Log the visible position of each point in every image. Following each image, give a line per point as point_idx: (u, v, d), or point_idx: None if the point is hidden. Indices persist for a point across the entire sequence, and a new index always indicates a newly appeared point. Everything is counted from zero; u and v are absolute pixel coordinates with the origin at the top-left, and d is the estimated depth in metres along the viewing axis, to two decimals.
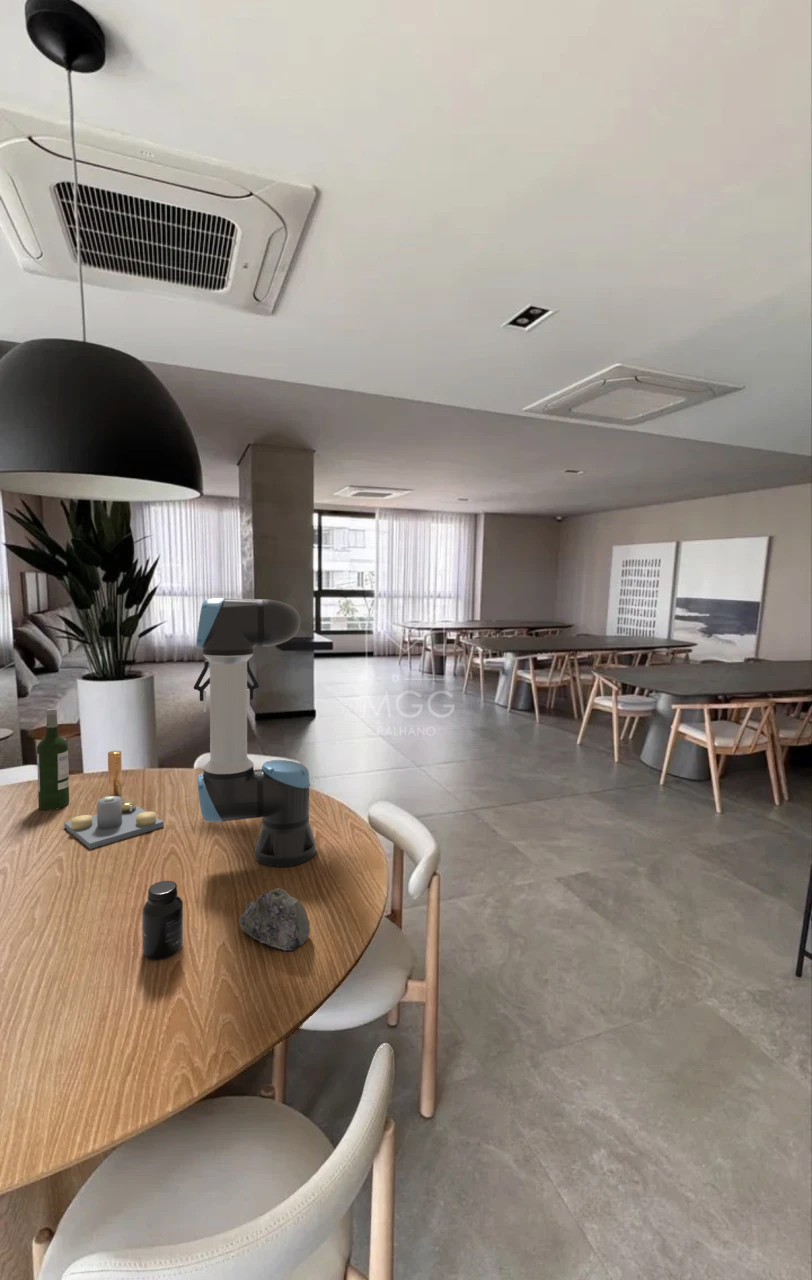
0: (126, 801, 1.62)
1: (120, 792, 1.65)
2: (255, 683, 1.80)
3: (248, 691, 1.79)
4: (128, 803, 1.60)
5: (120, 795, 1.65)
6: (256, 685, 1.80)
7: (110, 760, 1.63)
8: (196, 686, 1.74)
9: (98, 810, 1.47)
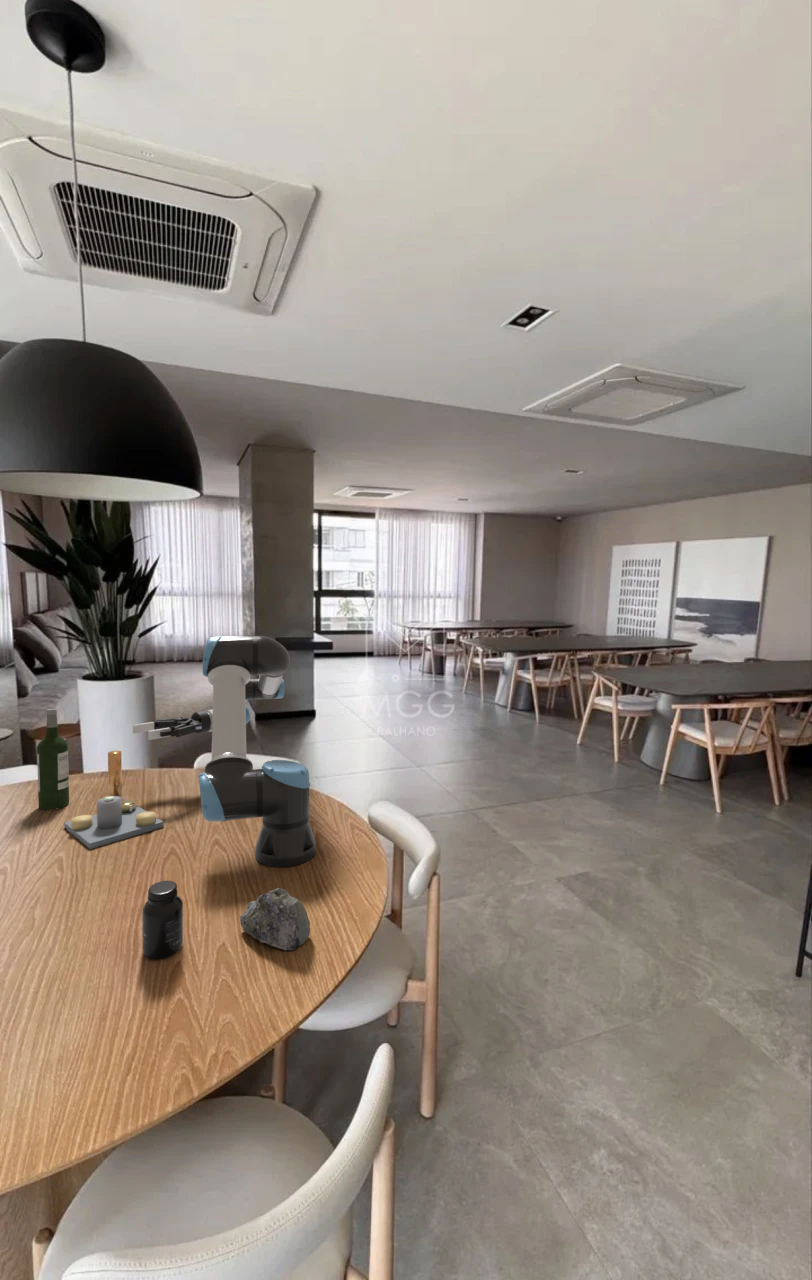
0: (126, 801, 1.62)
1: (120, 792, 1.65)
2: (179, 728, 1.72)
3: (168, 728, 1.71)
4: (128, 803, 1.60)
5: (120, 795, 1.65)
6: (178, 728, 1.71)
7: (110, 760, 1.63)
8: (155, 720, 1.82)
9: (98, 810, 1.47)
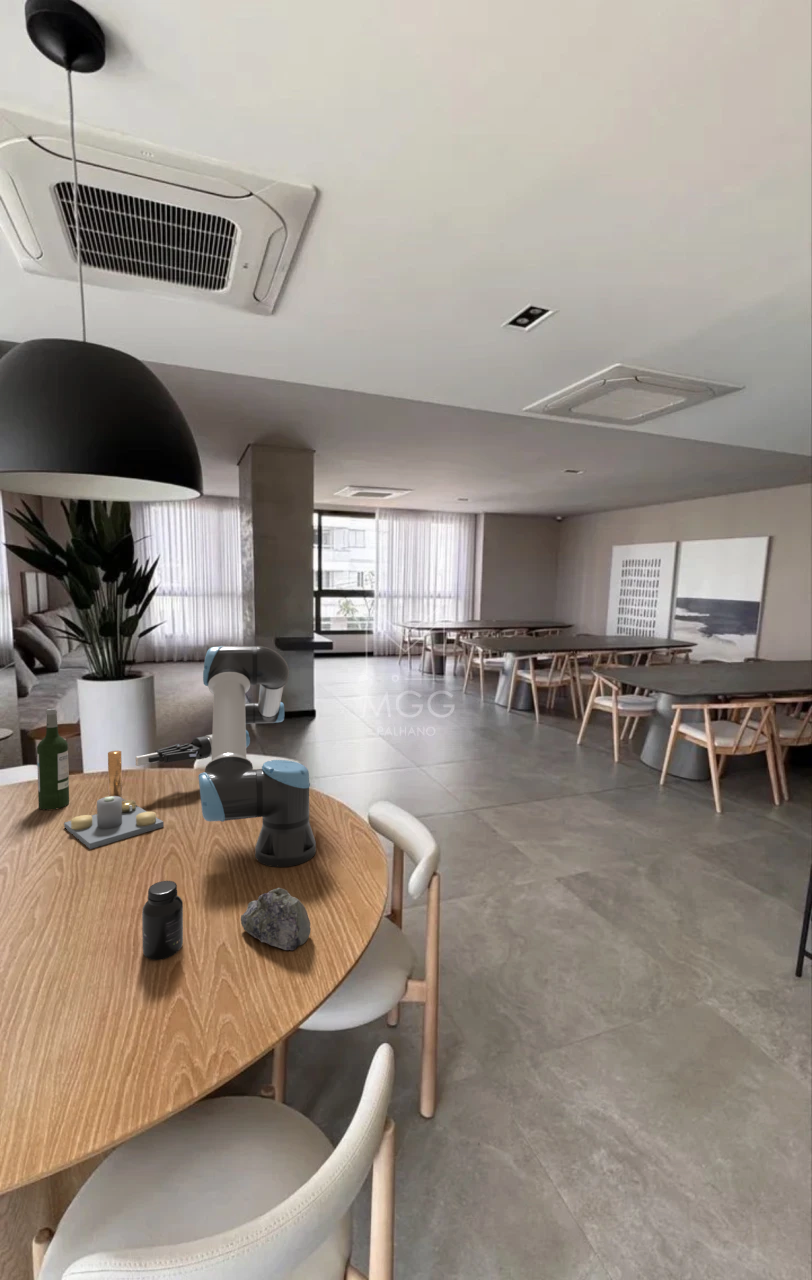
0: (126, 801, 1.62)
1: (120, 792, 1.65)
2: (169, 754, 1.75)
3: (156, 753, 1.75)
4: (128, 803, 1.60)
5: (120, 795, 1.65)
6: (166, 754, 1.74)
7: (110, 760, 1.63)
8: (158, 750, 1.79)
9: (98, 810, 1.47)
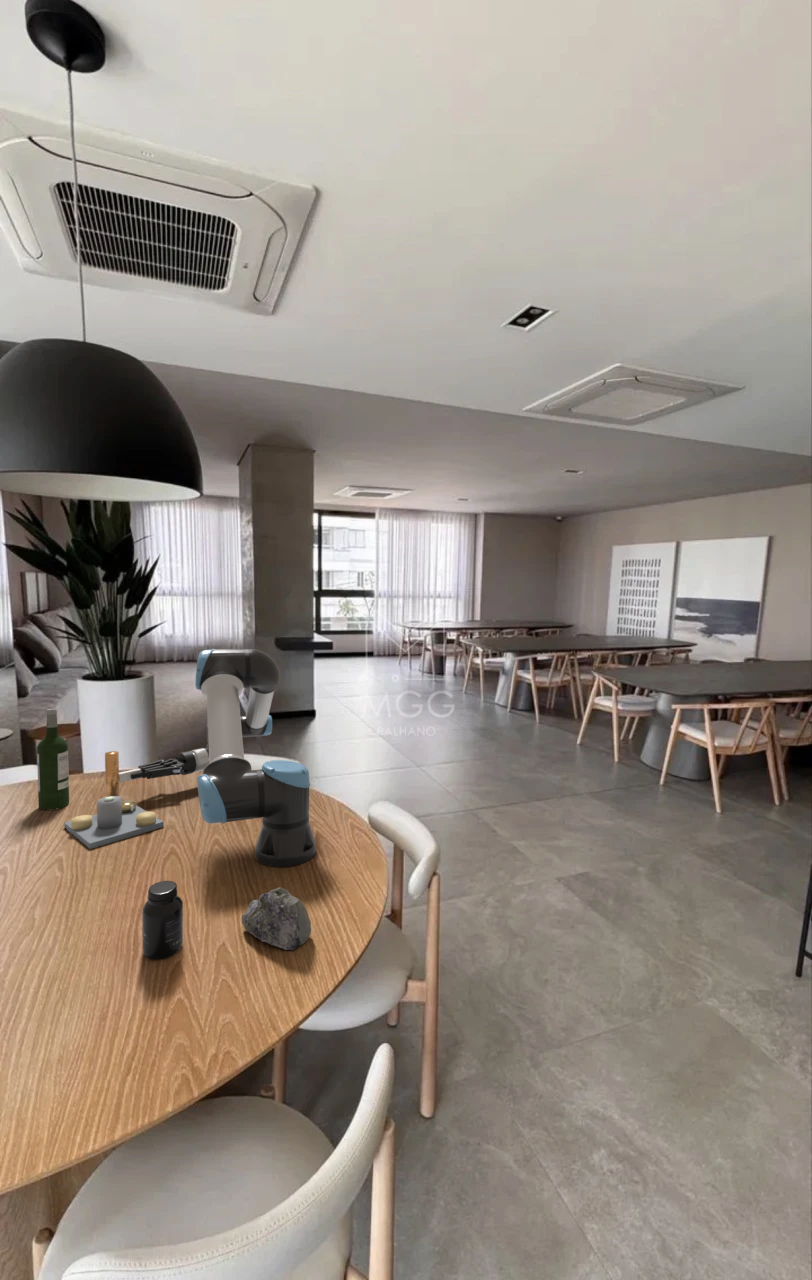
0: (125, 801, 1.62)
1: (118, 793, 1.65)
2: (151, 770, 1.71)
3: (139, 769, 1.71)
4: (128, 803, 1.60)
5: None
6: (149, 770, 1.71)
7: (108, 761, 1.63)
8: (141, 765, 1.75)
9: (98, 810, 1.47)
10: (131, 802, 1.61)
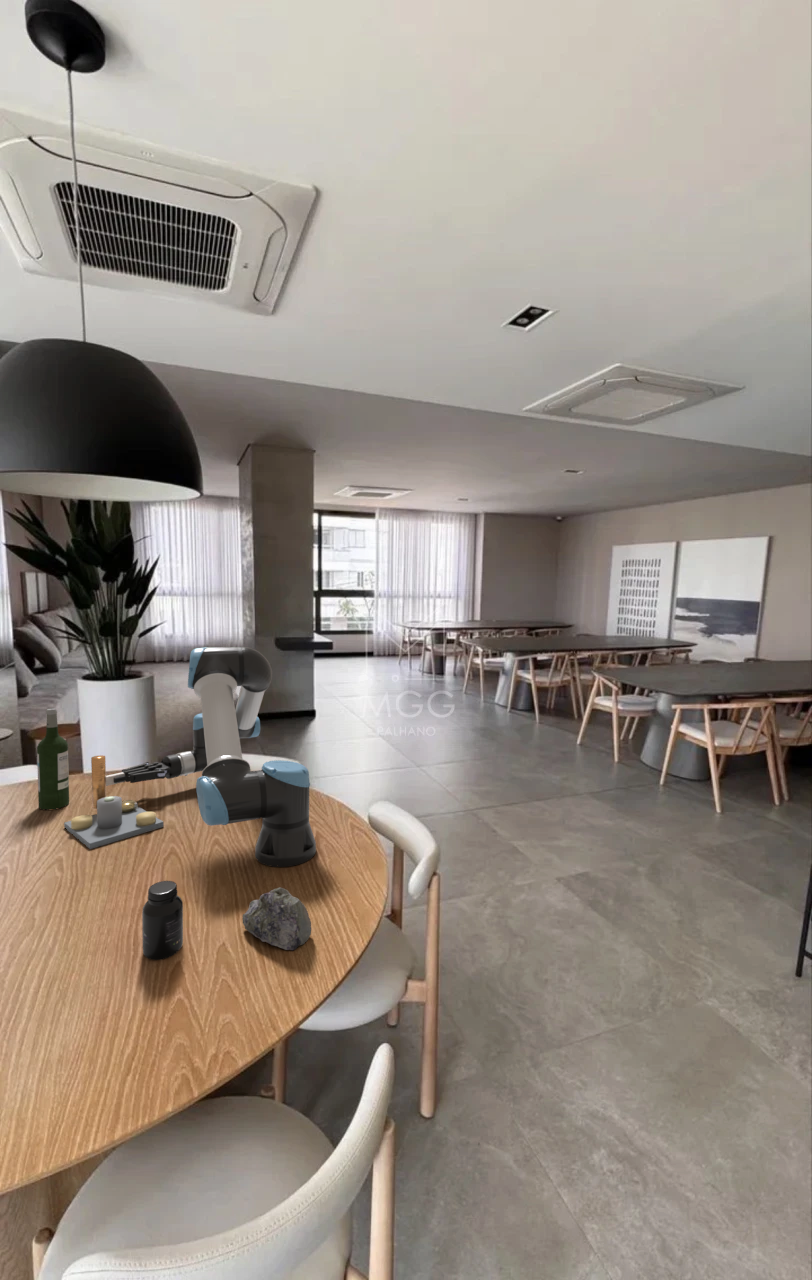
0: (123, 802, 1.61)
1: None
2: (135, 774, 1.67)
3: (122, 773, 1.67)
4: (129, 802, 1.61)
5: None
6: (133, 774, 1.67)
7: (99, 765, 1.58)
8: (125, 769, 1.71)
9: (98, 810, 1.47)
10: (130, 801, 1.62)
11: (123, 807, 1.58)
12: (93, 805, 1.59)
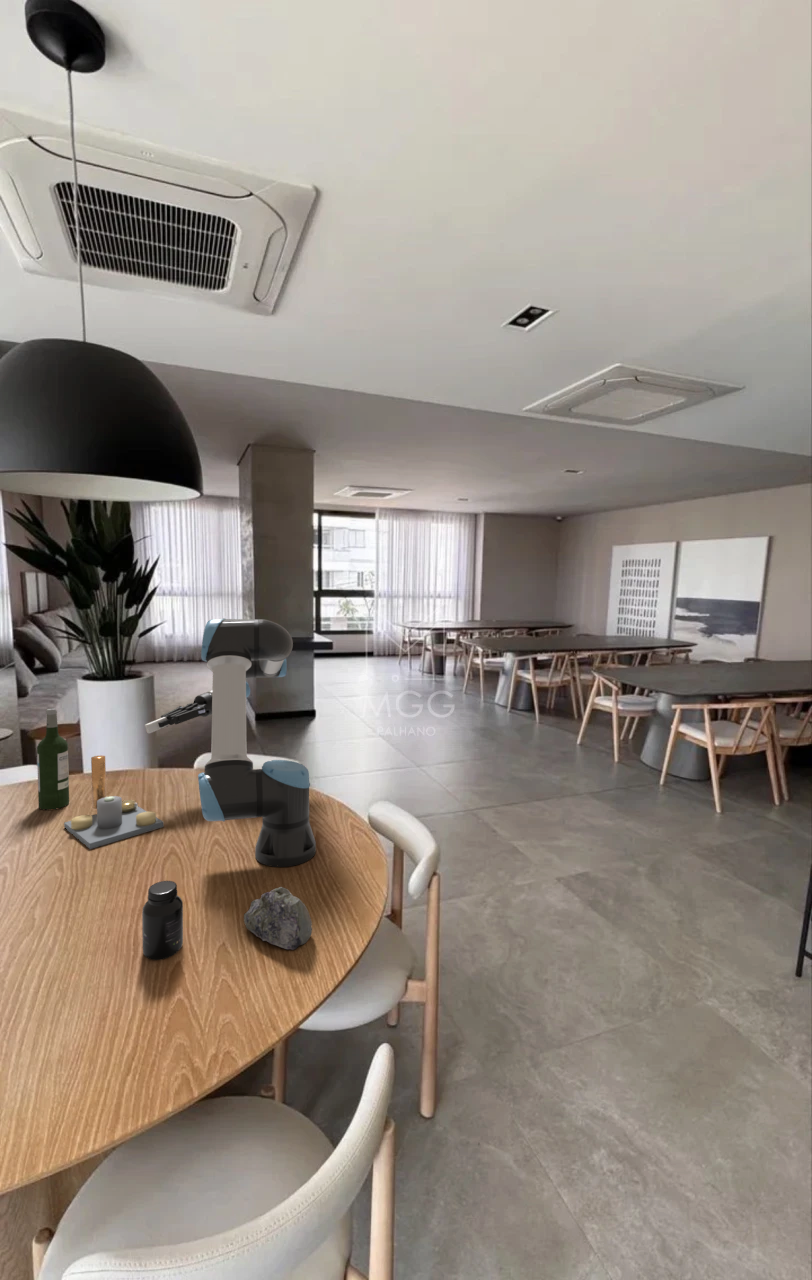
0: (123, 802, 1.61)
1: None
2: (178, 715, 1.69)
3: (164, 717, 1.68)
4: (129, 802, 1.61)
5: None
6: (176, 715, 1.68)
7: (99, 765, 1.58)
8: (163, 715, 1.72)
9: (98, 810, 1.47)
10: (130, 801, 1.62)
11: (123, 807, 1.58)
12: (93, 805, 1.59)
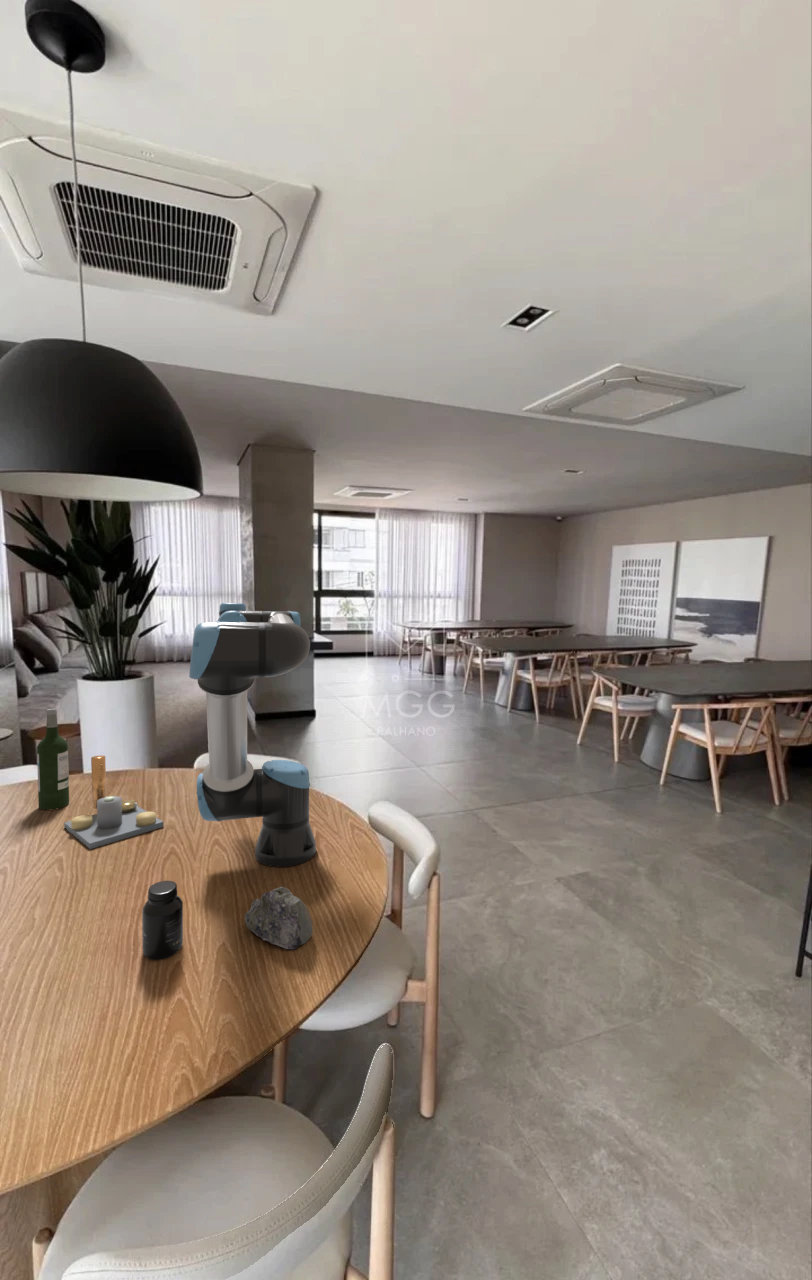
0: (123, 802, 1.61)
1: None
2: None
3: None
4: (129, 802, 1.61)
5: None
6: None
7: (99, 765, 1.58)
8: None
9: (98, 810, 1.47)
10: (130, 801, 1.62)
11: (123, 807, 1.58)
12: (93, 805, 1.59)
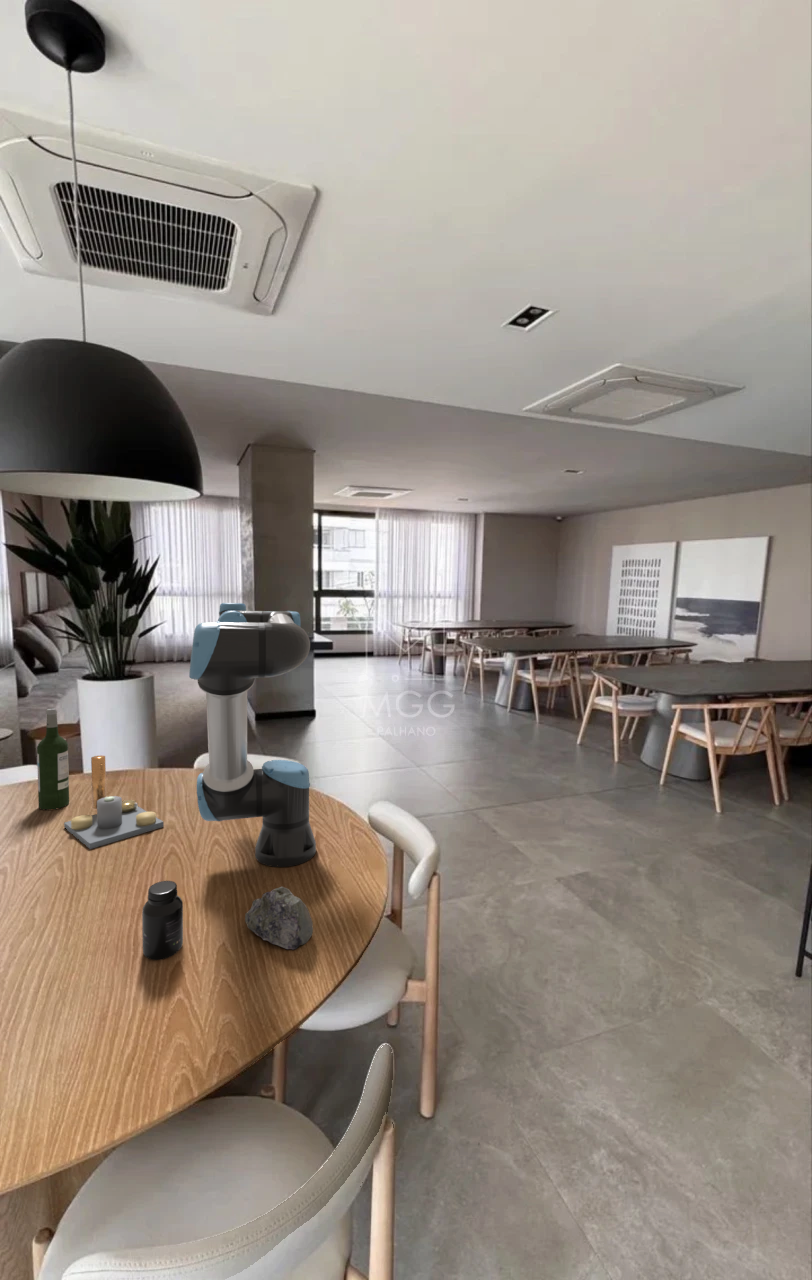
0: (123, 802, 1.61)
1: None
2: None
3: None
4: (129, 802, 1.61)
5: None
6: None
7: (99, 765, 1.58)
8: None
9: (98, 810, 1.47)
10: (130, 801, 1.62)
11: (123, 807, 1.58)
12: (93, 805, 1.59)
